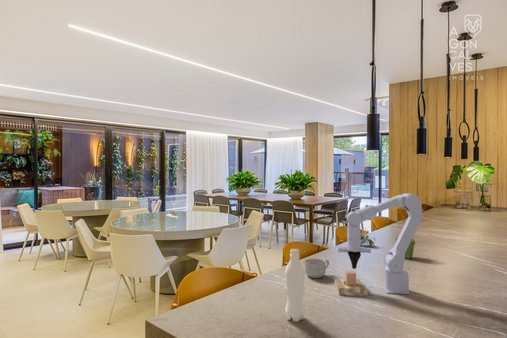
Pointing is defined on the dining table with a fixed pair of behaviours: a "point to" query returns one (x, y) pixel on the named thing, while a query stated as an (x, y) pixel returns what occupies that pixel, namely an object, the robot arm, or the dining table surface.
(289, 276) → the water bottle
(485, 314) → the dining table surface
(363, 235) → the passion flower
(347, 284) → the terracotta peg
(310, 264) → the teacup
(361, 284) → the birch socket block
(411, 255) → the plant pot
